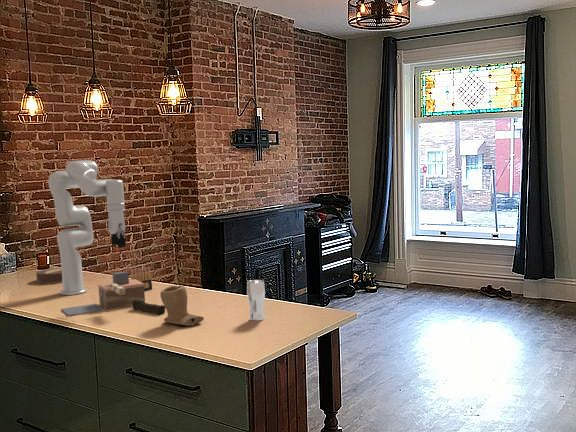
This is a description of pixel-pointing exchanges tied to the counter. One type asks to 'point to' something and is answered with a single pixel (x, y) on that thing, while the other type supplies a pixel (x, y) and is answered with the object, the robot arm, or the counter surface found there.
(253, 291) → the beer glass
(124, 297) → the toolbox
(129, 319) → the counter surface
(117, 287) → the rectangular bar
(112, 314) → the counter surface
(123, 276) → the lid
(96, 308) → the mat
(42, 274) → the container
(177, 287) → the brown boot
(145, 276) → the ammunition clip
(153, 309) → the black rough elongated piece
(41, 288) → the counter surface
